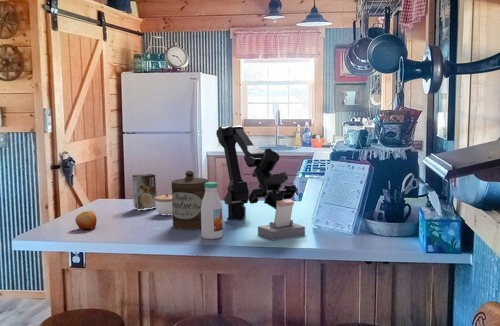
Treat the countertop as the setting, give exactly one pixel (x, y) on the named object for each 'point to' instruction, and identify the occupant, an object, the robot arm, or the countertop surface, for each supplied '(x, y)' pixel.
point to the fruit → (86, 220)
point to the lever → (283, 213)
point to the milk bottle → (211, 213)
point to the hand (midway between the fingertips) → (282, 212)
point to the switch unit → (281, 231)
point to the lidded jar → (164, 204)
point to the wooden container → (187, 201)
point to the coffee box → (144, 191)
